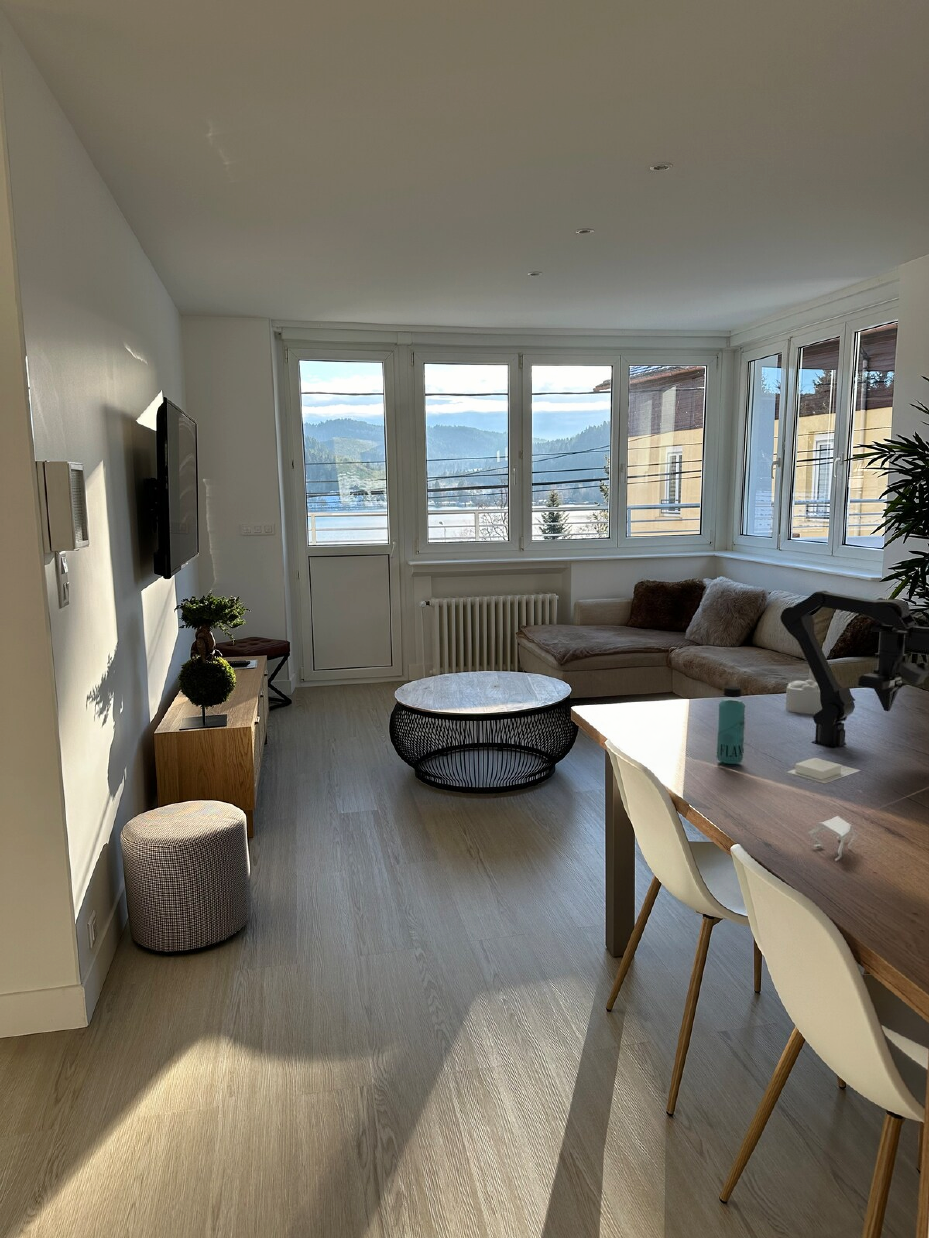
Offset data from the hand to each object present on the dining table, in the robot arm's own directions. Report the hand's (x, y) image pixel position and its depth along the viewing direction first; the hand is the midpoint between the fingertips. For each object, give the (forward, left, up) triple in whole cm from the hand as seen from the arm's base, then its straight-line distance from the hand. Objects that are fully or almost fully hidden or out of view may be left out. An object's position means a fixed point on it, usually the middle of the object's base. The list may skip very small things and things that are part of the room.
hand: (887, 710), depth 214 cm
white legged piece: (+25, -62, -12) cm, 68 cm away
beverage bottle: (-19, -37, -12) cm, 43 cm away
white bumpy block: (-38, +26, -12) cm, 48 cm away
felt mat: (-2, -23, -12) cm, 26 cm away
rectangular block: (-2, -22, -10) cm, 24 cm away
